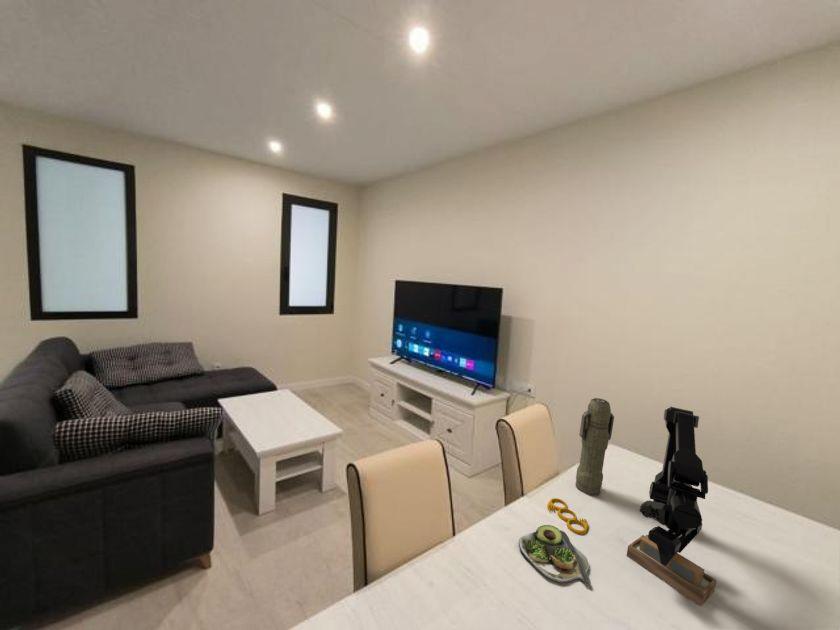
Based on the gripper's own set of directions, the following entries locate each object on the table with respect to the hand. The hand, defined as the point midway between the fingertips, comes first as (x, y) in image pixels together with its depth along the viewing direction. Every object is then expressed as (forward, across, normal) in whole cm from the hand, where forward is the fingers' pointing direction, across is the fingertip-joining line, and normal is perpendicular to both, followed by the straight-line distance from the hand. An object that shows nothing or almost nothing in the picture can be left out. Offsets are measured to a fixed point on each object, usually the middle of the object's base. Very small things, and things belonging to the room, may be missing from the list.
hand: (670, 558), depth 97 cm
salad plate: (+5, +24, -20) cm, 32 cm away
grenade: (+5, -17, -34) cm, 38 cm away
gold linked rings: (+5, +5, -28) cm, 29 cm away
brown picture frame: (+4, 0, 0) cm, 4 cm away
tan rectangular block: (+2, 0, 0) cm, 2 cm away
